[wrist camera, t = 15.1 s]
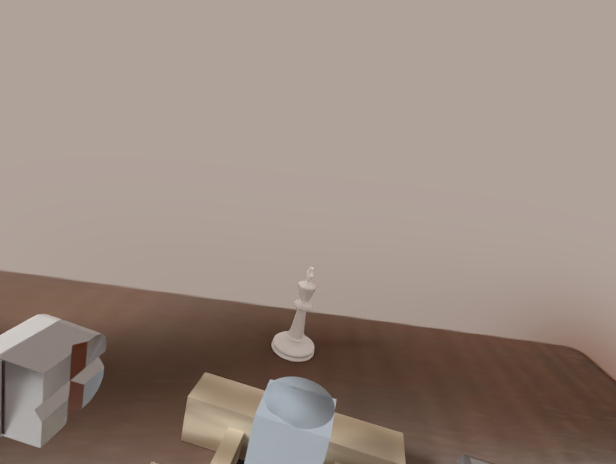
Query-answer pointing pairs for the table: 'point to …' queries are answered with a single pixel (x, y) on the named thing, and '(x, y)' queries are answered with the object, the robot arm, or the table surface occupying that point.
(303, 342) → the chess piece
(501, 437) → the table surface
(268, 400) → the peg
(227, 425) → the light wooden frame
